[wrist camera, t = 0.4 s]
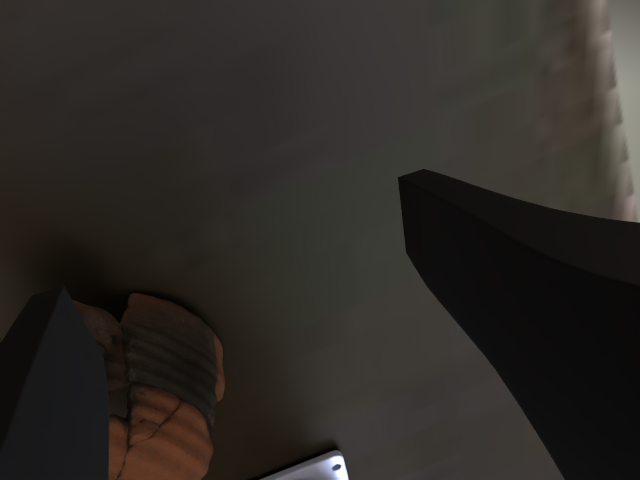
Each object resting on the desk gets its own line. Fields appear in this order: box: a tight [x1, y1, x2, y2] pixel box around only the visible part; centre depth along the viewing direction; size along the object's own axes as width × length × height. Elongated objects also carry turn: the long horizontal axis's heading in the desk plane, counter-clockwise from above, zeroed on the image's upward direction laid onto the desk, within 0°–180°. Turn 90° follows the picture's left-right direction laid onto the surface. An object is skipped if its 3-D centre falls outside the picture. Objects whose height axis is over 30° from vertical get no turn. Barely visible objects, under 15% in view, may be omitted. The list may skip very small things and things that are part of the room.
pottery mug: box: [72, 293, 225, 480], centre depth 22 cm, size 12×10×8 cm
